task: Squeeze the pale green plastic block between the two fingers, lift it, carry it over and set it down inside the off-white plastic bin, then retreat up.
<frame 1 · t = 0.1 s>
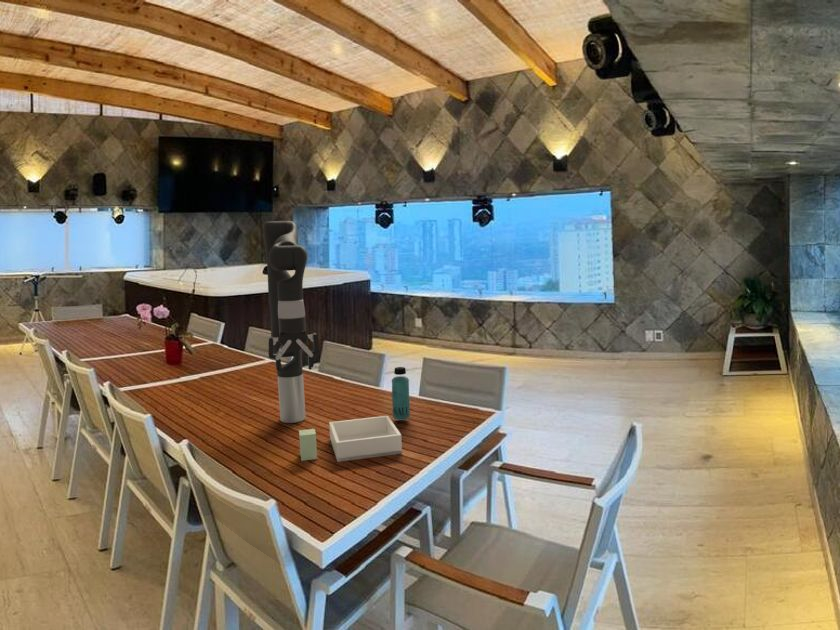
hand: (295, 370, 164), 29 cm above the table, tool pointing down, fingers open, 8 cm apart
serving bin: (364, 446, 182), on the table
green block: (308, 456, 174), on the table
beverage bottle: (401, 421, 205), on the table
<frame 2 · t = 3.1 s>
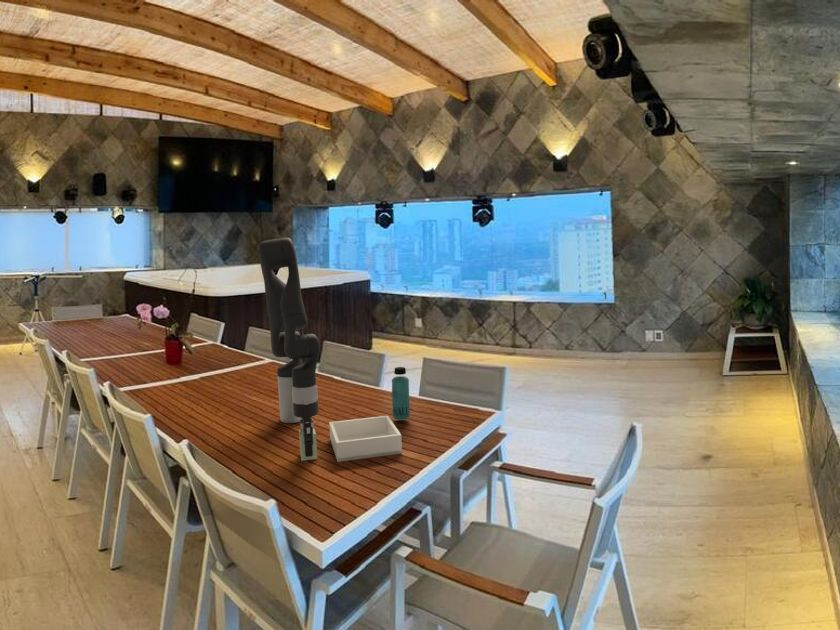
hand: (308, 452, 174), 1 cm above the table, tool pointing down, fingers closed on green block, 5 cm apart
green block: (308, 456, 174), on the table, touching gripper
everything else where it was.
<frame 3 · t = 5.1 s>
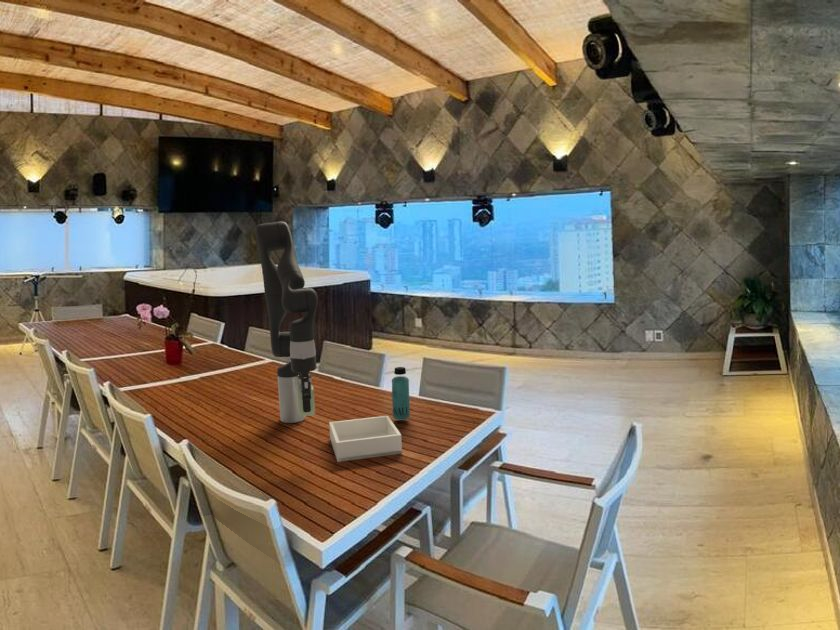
hand: (306, 408, 172), 15 cm above the table, tool pointing down, fingers closed on green block, 4 cm apart
green block: (306, 413, 173), point 14 cm above the table, touching gripper
everything else where it was.
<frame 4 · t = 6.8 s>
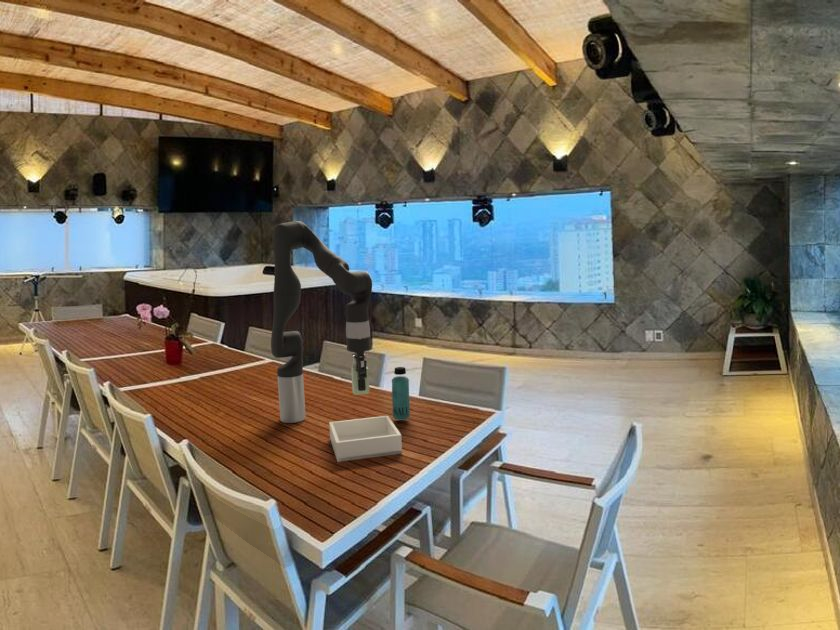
hand: (360, 387, 179), 19 cm above the table, tool pointing down, fingers closed on green block, 4 cm apart
green block: (360, 392, 179), point 18 cm above the table, touching gripper
everything else where it was.
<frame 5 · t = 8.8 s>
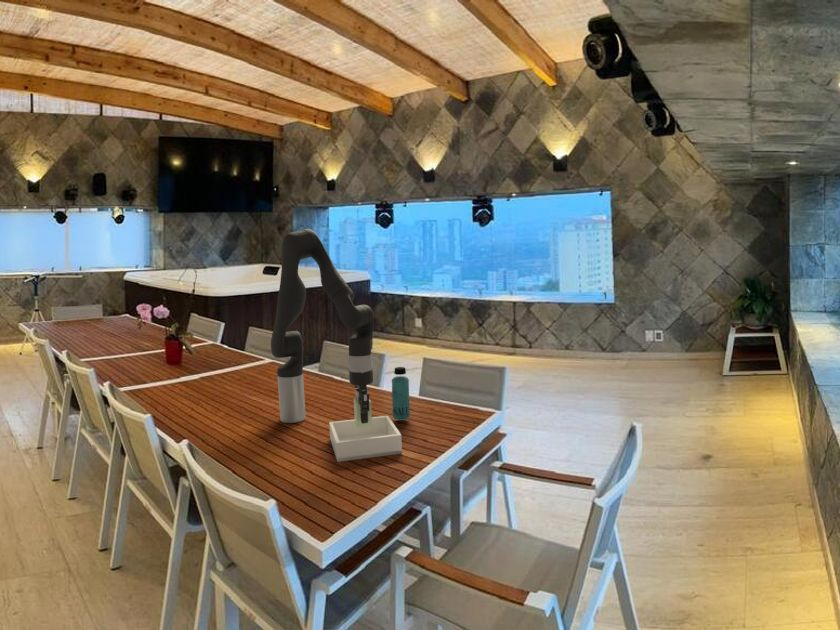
hand: (363, 420, 180), 9 cm above the table, tool pointing down, fingers closed on green block, 4 cm apart
green block: (363, 424, 181), point 7 cm above the table, touching gripper
everything else where it was.
when the fingers open (4 cm above the table, at t = 10.3 s): green block drops 1 cm, resting on serving bin.
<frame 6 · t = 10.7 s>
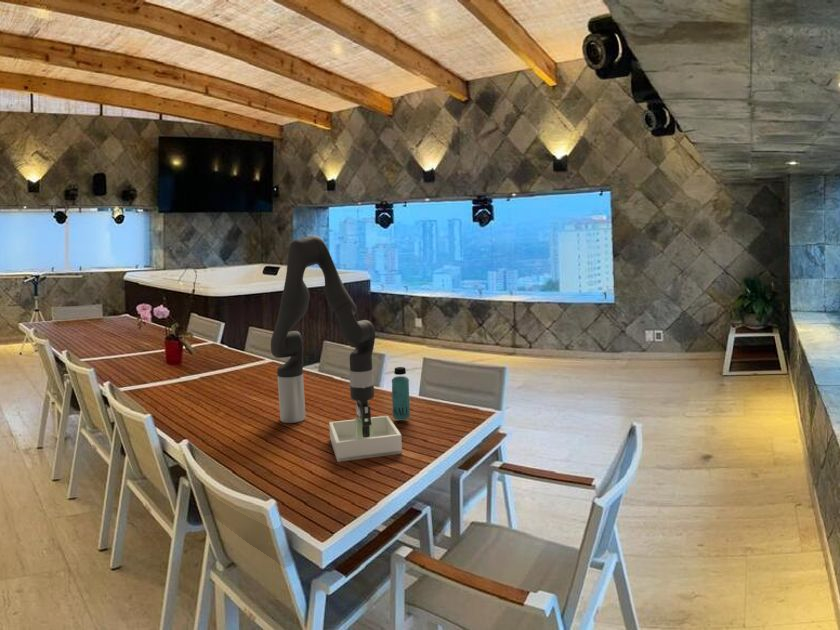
hand: (364, 432, 181), 5 cm above the table, tool pointing down, fingers open, 8 cm apart
green block: (364, 443, 182), point 1 cm above the table, touching serving bin
everything else where it was.
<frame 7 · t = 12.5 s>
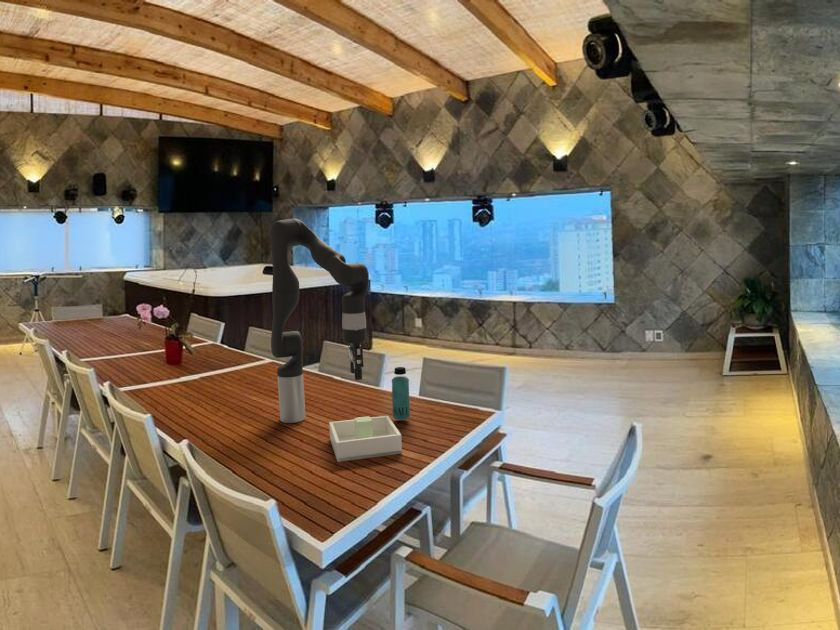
hand: (356, 376, 180), 23 cm above the table, tool pointing down, fingers open, 8 cm apart
nothing on the table moved.
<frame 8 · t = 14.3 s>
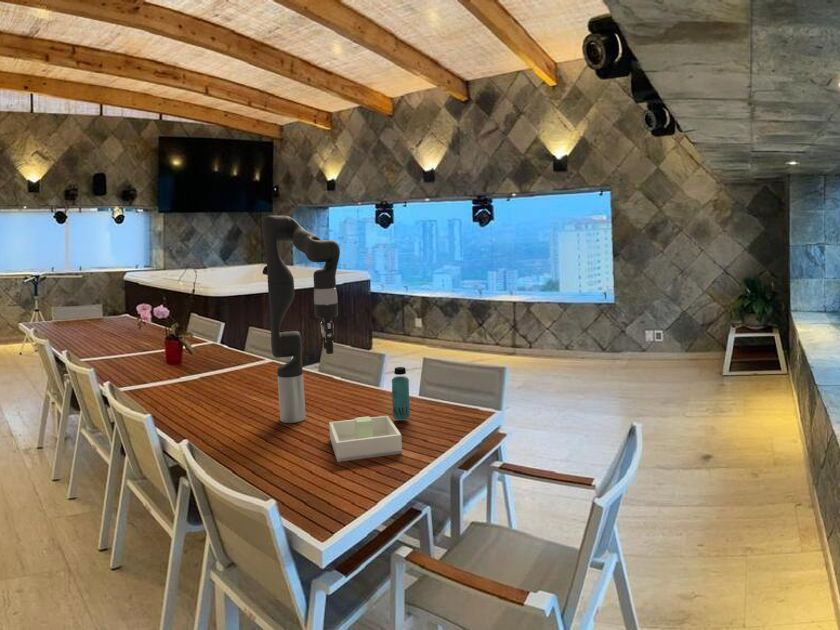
hand: (328, 351, 185), 30 cm above the table, tool pointing down, fingers open, 8 cm apart
nothing on the table moved.
at the end: green block inside the target area on the serving bin (0.1 cm from its centre), point 1.0 cm above the serving bin's base; the gripper is holding nothing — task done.
